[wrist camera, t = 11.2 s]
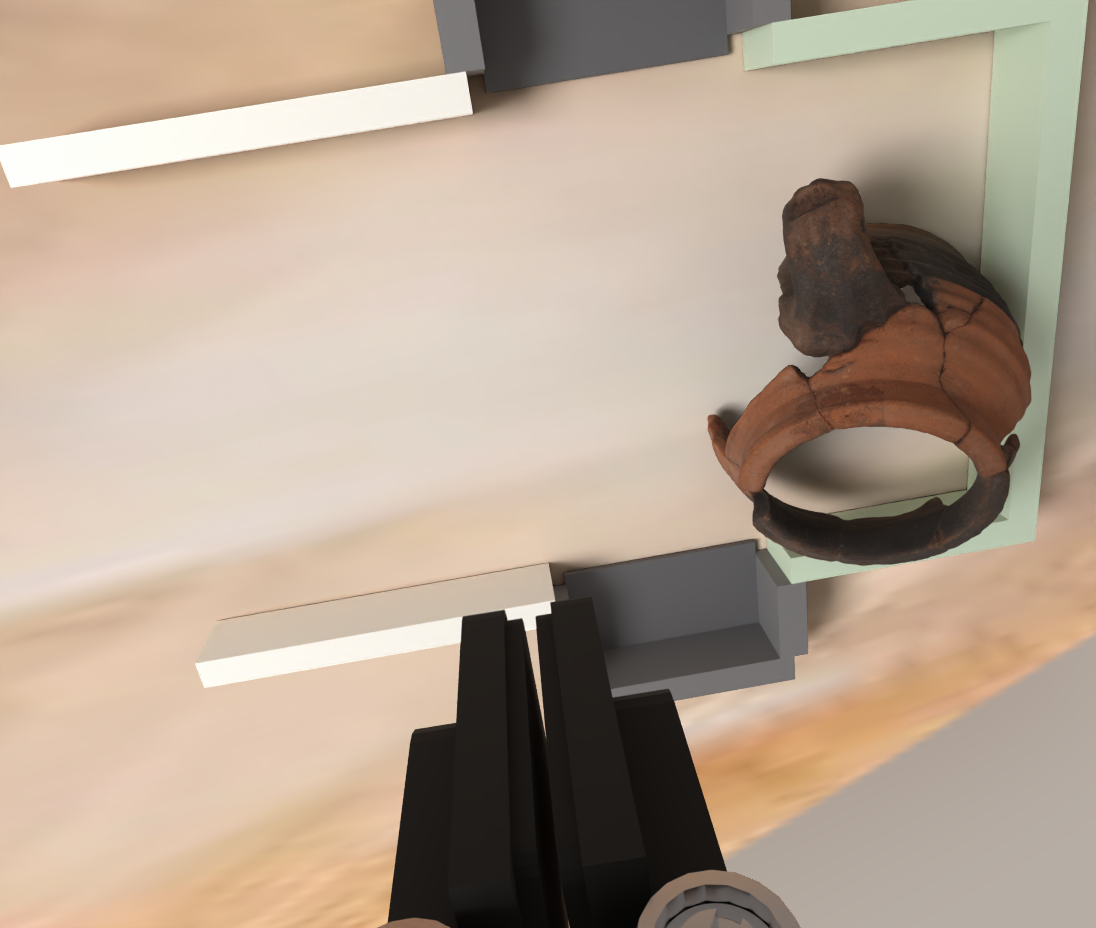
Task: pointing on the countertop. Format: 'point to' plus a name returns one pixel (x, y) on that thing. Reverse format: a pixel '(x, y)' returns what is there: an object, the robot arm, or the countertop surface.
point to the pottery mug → (881, 376)
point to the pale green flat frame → (614, 46)
